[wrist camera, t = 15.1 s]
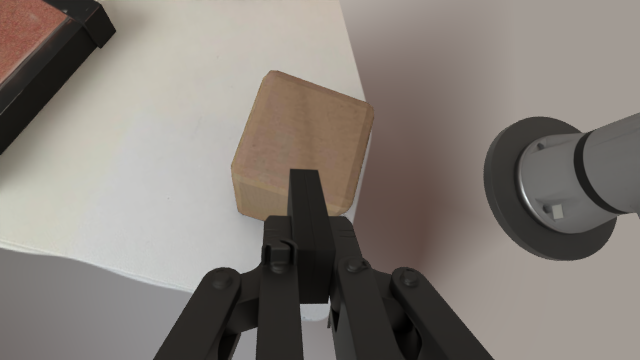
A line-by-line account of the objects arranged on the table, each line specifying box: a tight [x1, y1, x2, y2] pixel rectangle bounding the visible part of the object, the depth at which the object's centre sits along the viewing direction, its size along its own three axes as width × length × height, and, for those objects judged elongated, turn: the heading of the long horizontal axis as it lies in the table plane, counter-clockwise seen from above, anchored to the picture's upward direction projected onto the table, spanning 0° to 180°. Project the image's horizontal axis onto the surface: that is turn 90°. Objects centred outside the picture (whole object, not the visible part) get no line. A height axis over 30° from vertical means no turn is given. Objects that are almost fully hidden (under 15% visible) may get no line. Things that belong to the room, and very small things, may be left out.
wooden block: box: [231, 70, 374, 221], centre depth 37 cm, size 10×10×20 cm
